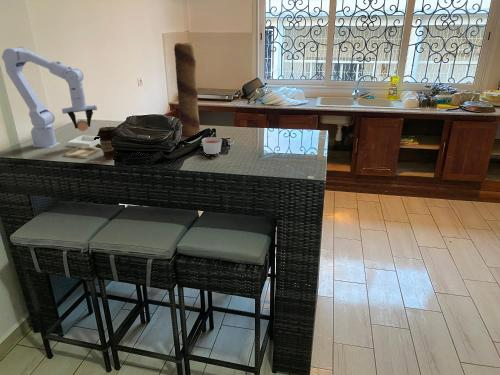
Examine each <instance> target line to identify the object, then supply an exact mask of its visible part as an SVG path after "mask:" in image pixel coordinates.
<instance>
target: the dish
mask: <svg viewBox="0 0 500 375" xmlns="http://www.w3.org/2000/svg"><path fill="white" fill-rule="evenodd" d="M95 137H98V135H97V136H95V135H84V134H83V135H79V136H77V137H75V138H73V139H71V140H69V141H67V147H75V148H77V147H79V146H80V147H91V148H94V147H95V146H98V145H99V144H100V138H99V139H96V140H94V138H95Z"/></svg>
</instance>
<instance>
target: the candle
mask: <svg viewBox="0 0 500 375" xmlns="http://www.w3.org/2000/svg"><path fill="white" fill-rule="evenodd" d="M201 143H202V147H203V153H204V152H205V153H206V154H216V153H219V152H220V153H221V149H222V144H223V139H222V138H220V137H215V136H210V137H204V138H202V139H201ZM205 153H204V154H205ZM206 154H205V155H206Z"/></svg>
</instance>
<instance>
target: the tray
mask: <svg viewBox="0 0 500 375" xmlns="http://www.w3.org/2000/svg"><path fill="white" fill-rule="evenodd" d="M101 151H102V148H99V147H80V146H79V147H75V148H72V149H71V150H69V151H66V152H65V153H63V157H68V158H76V159H77V158H78V159H88V158H90V157H93V156H94V155H96V154H97V153H99V152H101Z"/></svg>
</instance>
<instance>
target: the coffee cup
mask: <svg viewBox="0 0 500 375" xmlns="http://www.w3.org/2000/svg"><path fill="white" fill-rule="evenodd" d="M118 130H119V129H118V128H117V127H116V126H103V127H100V128H99V129H98V132H97V134H98V135H97V136H98V137H100V143H99V144H100V147H101V151H102V153H103V158H105V159H108V160H114V159H115V158H114V156H115V150H114V148H113V147H112V146H111V141H112V138H113V137H114V136H116V135H117V134H118V132H119V133H120V131H118ZM113 158H114V159H113Z"/></svg>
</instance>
